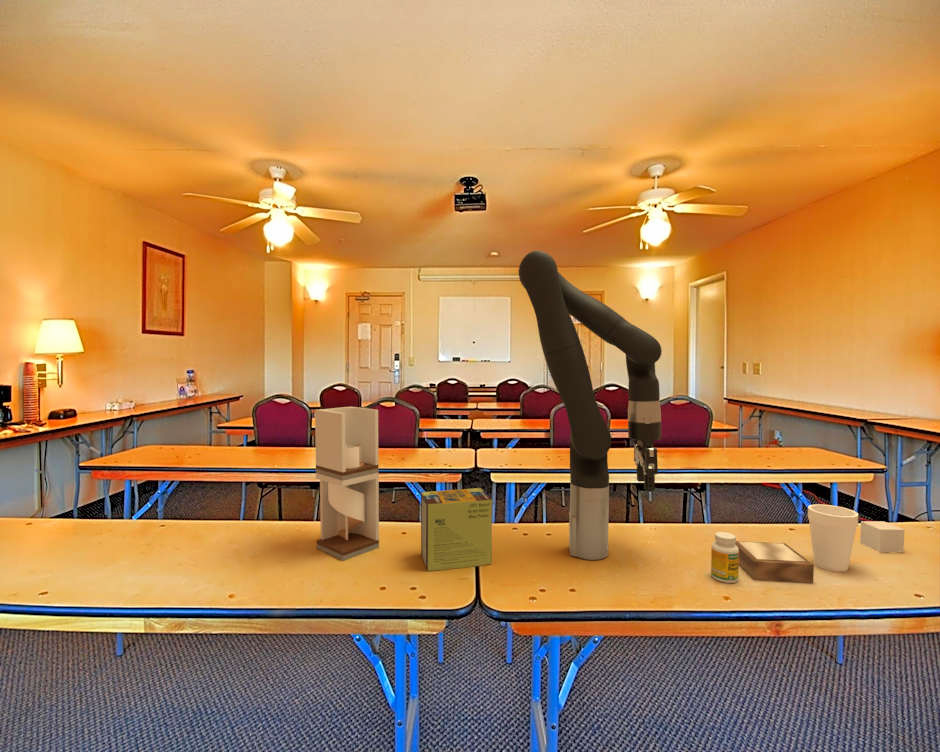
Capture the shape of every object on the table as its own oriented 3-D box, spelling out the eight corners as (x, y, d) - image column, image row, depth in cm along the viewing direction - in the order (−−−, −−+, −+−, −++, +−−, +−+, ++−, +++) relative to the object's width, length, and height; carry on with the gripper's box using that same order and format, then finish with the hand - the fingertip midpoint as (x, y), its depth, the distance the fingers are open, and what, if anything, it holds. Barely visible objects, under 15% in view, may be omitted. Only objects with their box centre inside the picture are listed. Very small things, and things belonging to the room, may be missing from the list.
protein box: (492, 565, 114) (493, 499, 113) (427, 572, 110) (427, 504, 109) (480, 547, 124) (480, 487, 123) (420, 553, 120) (420, 491, 119)
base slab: (753, 579, 106) (754, 560, 106) (731, 557, 118) (731, 539, 118) (813, 583, 105) (813, 563, 105) (784, 559, 117) (785, 542, 117)
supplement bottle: (719, 570, 111) (720, 529, 110) (743, 579, 106) (744, 536, 106) (705, 576, 108) (706, 533, 107) (729, 586, 103) (731, 541, 103)
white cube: (879, 553, 121) (880, 529, 121) (860, 544, 127) (860, 521, 127) (903, 553, 121) (904, 529, 121) (883, 544, 127) (883, 521, 127)
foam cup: (850, 561, 116) (852, 507, 115) (862, 577, 107) (864, 519, 107) (802, 554, 120) (804, 502, 119) (810, 569, 111) (812, 513, 111)
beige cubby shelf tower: (316, 548, 123) (315, 409, 122) (352, 536, 131) (351, 406, 130) (343, 560, 116) (341, 413, 114) (378, 547, 124) (378, 409, 122)
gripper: (622, 415, 125) (624, 478, 126) (634, 423, 111) (635, 494, 112) (653, 415, 124) (654, 478, 125) (668, 423, 110) (669, 494, 111)
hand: (645, 485), depth 118 cm, fingers open, 8 cm apart
